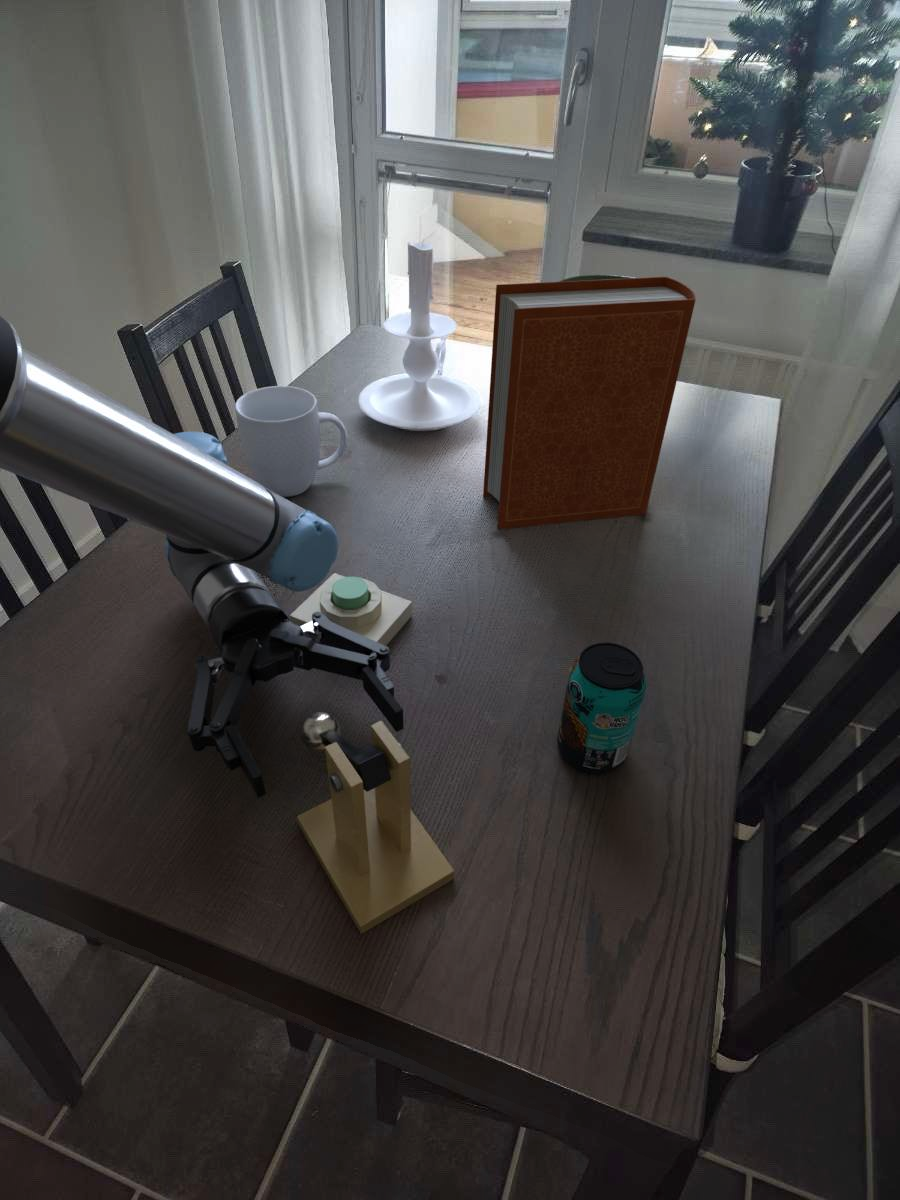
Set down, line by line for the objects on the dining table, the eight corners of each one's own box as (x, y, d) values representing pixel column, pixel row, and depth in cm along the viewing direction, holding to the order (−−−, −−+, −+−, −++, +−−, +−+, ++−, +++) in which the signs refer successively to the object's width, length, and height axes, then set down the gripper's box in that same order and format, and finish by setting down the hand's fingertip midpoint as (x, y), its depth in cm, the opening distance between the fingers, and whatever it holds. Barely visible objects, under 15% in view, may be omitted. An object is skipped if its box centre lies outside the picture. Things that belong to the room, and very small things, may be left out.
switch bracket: (298, 824, 68) (279, 724, 59) (385, 779, 72) (380, 680, 63) (361, 934, 61) (350, 840, 52) (454, 878, 65) (460, 781, 56)
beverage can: (559, 716, 79) (574, 632, 71) (627, 727, 78) (650, 643, 70) (553, 771, 74) (569, 686, 66) (626, 783, 73) (651, 698, 65)
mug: (340, 457, 118) (334, 377, 109) (359, 494, 110) (354, 411, 101) (243, 472, 113) (228, 390, 105) (255, 512, 106) (240, 427, 97)
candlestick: (498, 389, 137) (510, 221, 119) (463, 455, 119) (471, 269, 101) (390, 373, 141) (386, 209, 123) (340, 435, 123) (326, 252, 105)
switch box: (291, 629, 88) (287, 603, 85) (335, 586, 94) (333, 560, 91) (372, 662, 84) (370, 636, 81) (412, 615, 90) (412, 589, 88)
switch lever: (301, 752, 70) (289, 717, 69) (336, 736, 71) (325, 701, 70) (360, 803, 57) (347, 761, 56) (402, 782, 59) (389, 741, 58)
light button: (326, 603, 86) (325, 591, 85) (346, 583, 89) (345, 572, 88) (356, 615, 85) (355, 603, 83) (375, 594, 87) (374, 583, 86)
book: (497, 529, 104) (515, 309, 84) (483, 497, 110) (496, 284, 90) (652, 513, 108) (703, 299, 88) (630, 482, 114) (673, 276, 94)
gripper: (350, 602, 88) (450, 722, 74) (130, 685, 77) (202, 843, 64) (346, 550, 83) (452, 669, 70) (111, 631, 72) (184, 790, 59)
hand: (333, 752), depth 67 cm, fingers open, 13 cm apart
